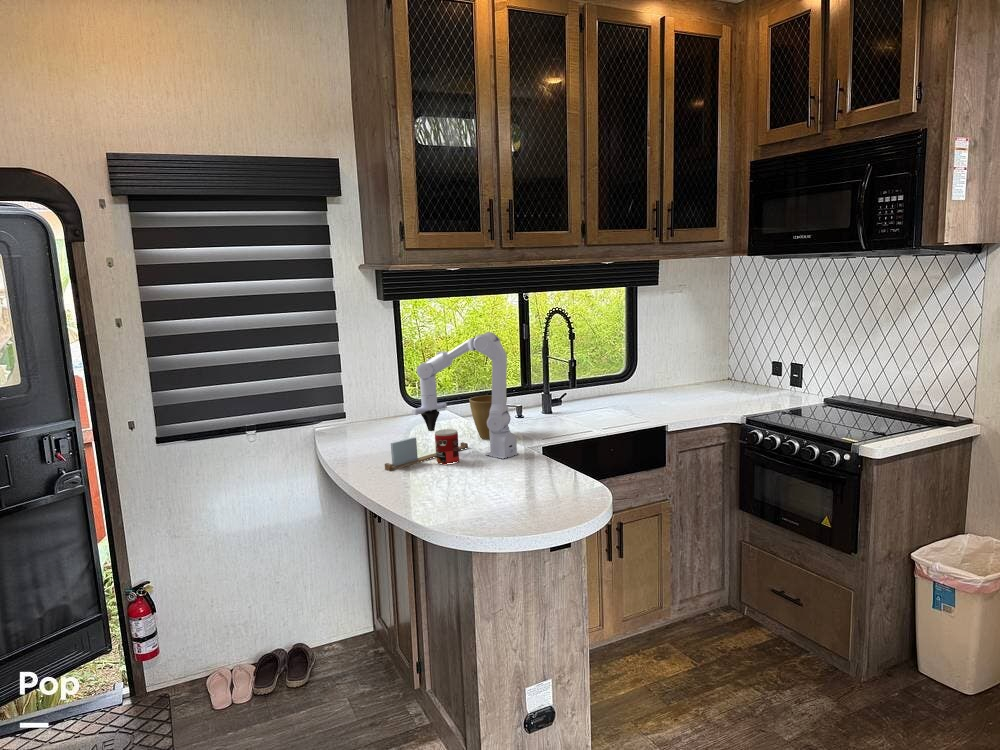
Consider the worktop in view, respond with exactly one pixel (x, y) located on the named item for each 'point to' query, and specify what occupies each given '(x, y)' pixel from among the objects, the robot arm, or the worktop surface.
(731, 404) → the worktop surface
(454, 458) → the canned food
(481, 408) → the plant pot
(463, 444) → the rail
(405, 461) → the screen panel
